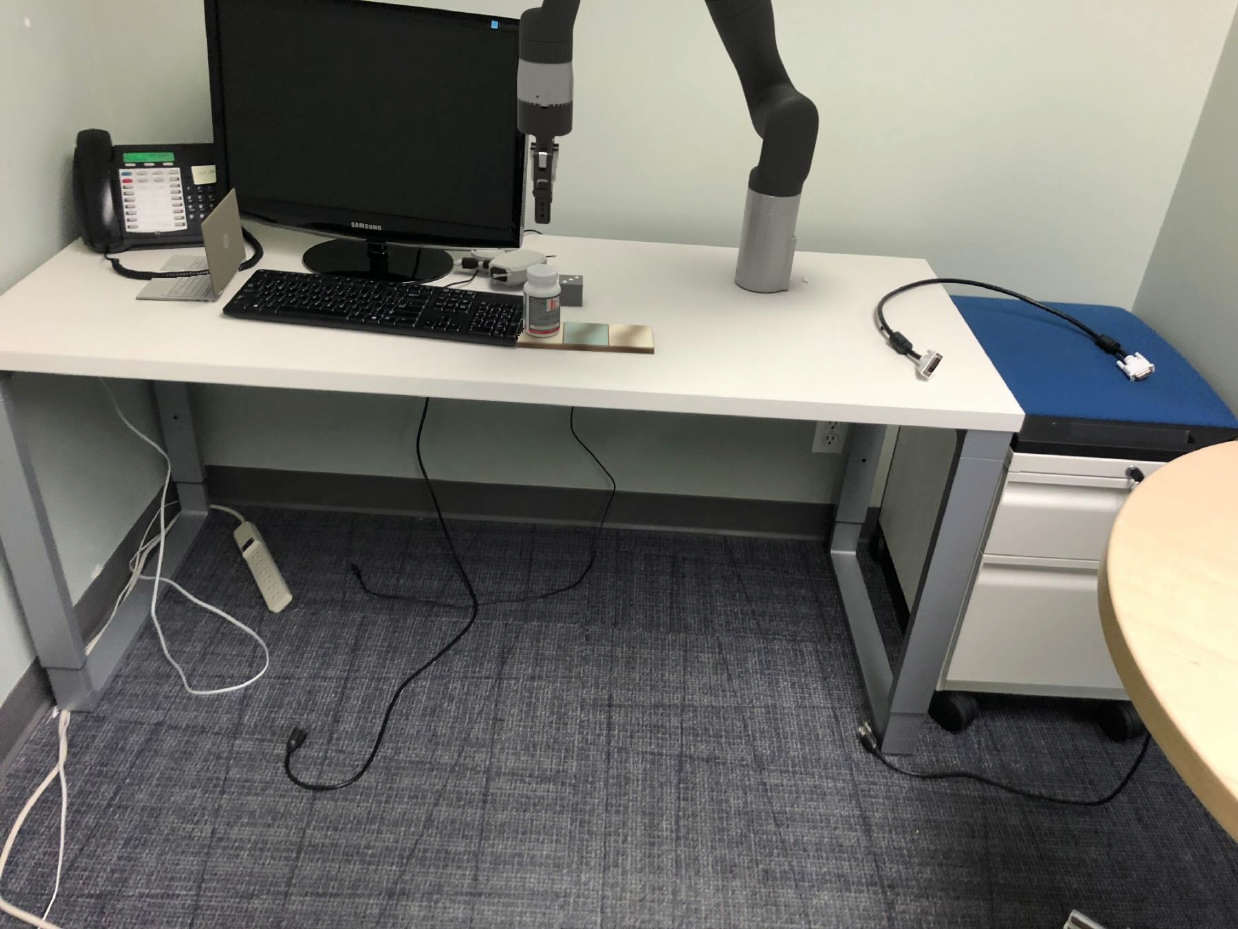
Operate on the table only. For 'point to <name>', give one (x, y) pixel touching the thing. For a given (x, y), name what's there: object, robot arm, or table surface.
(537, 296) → the pill bottle
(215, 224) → the laptop
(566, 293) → the die
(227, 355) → the table surface
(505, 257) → the robot toy
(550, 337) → the board
